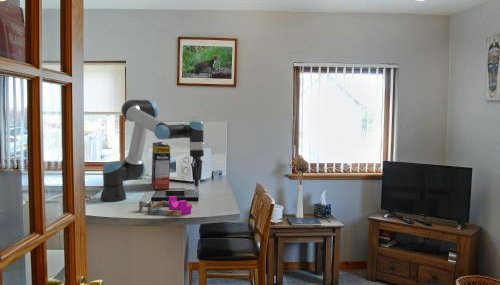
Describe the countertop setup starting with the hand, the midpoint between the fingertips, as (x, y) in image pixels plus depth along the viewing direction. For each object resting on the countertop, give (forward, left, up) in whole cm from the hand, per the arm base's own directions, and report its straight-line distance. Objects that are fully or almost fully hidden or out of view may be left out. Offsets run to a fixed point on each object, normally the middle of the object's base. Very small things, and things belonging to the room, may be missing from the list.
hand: (197, 191), depth 230 cm
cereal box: (-49, +63, -12) cm, 81 cm away
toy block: (-10, -1, -12) cm, 16 cm away
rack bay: (-15, 0, -11) cm, 19 cm away
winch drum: (-29, -4, -11) cm, 32 cm away
